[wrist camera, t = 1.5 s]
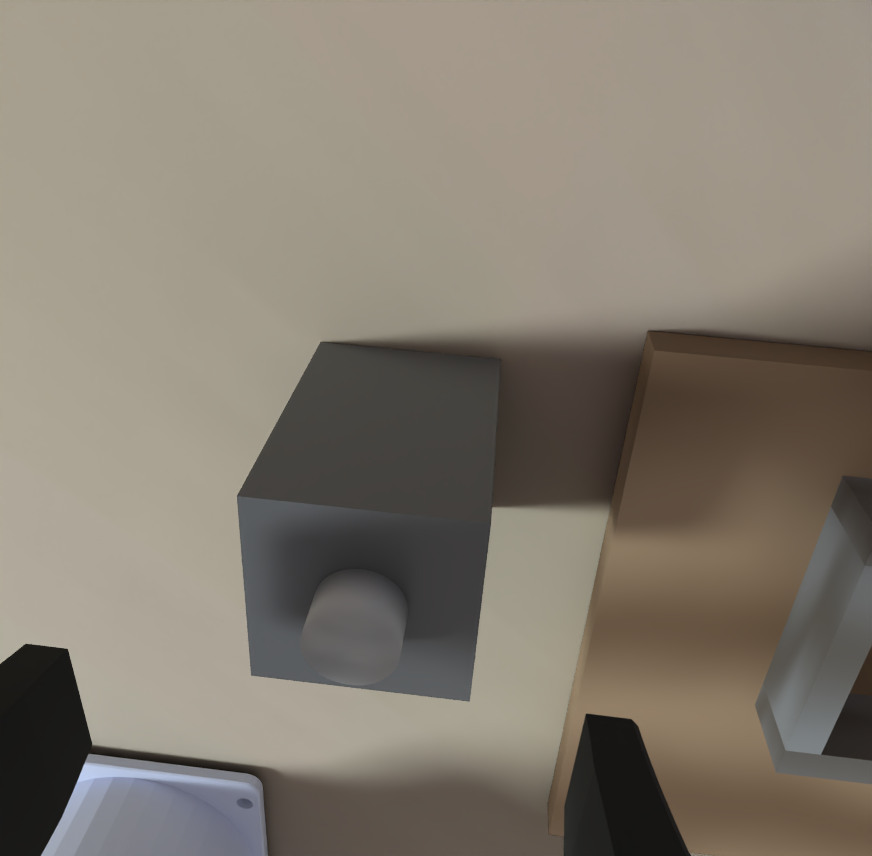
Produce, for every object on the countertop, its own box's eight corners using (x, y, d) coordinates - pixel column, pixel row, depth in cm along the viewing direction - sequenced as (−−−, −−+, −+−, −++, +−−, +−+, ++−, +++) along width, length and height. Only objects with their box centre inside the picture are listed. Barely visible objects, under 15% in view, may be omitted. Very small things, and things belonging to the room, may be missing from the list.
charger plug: (484, 506, 19) (466, 748, 13) (322, 489, 20) (233, 719, 14) (500, 358, 17) (488, 565, 11) (321, 341, 18) (215, 535, 12)
